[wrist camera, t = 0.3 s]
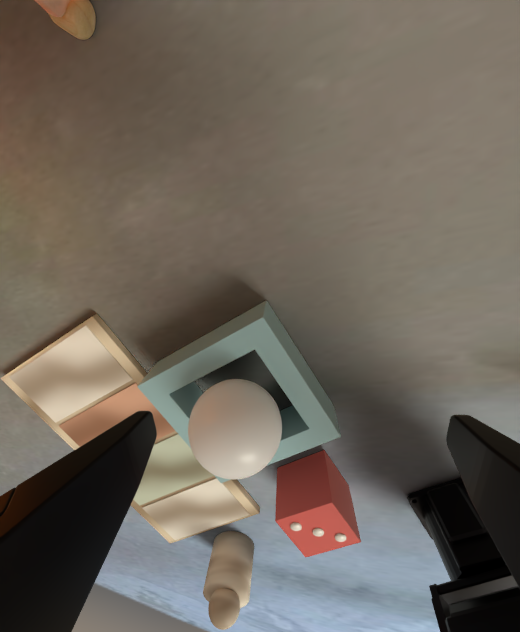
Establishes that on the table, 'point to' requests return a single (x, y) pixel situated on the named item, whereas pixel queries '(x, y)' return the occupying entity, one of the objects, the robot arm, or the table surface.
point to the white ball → (235, 429)
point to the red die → (315, 505)
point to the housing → (229, 344)
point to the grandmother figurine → (72, 16)
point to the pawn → (228, 577)
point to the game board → (113, 407)
